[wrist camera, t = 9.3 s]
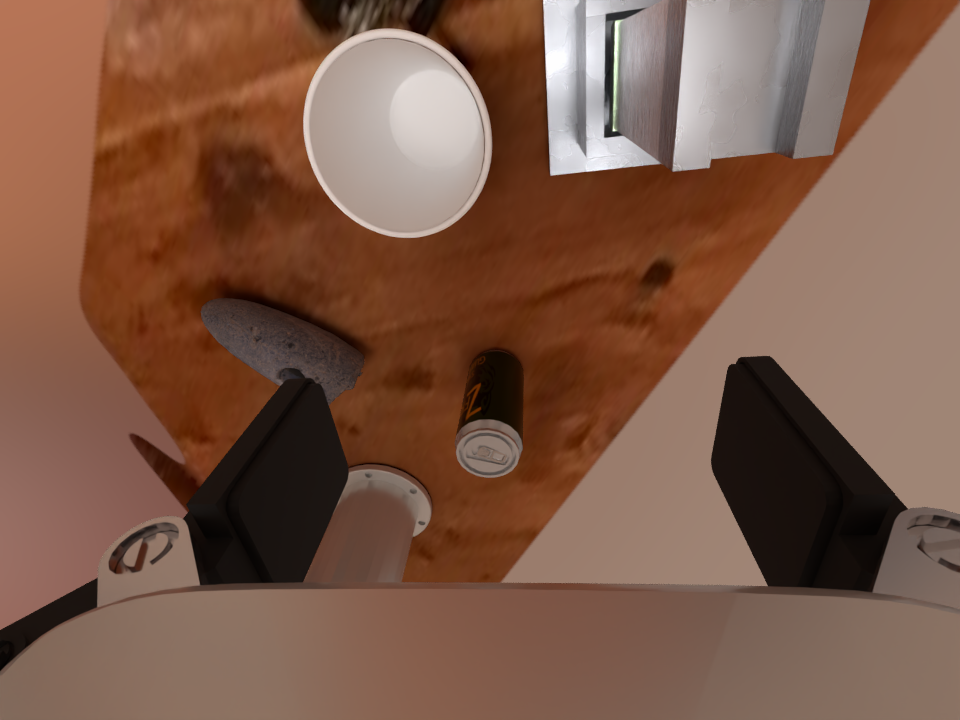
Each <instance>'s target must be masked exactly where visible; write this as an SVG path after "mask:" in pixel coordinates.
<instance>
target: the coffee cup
mask: <svg viewBox="0 0 960 720" xmlns="http://www.w3.org/2000/svg"><path fill="white" fill-rule="evenodd" d="M383 38H393V39H383ZM375 39H377V40H375ZM402 39H403V40H402ZM371 40H373V41H371ZM404 40H406V41H404ZM367 41H369V42H367ZM364 42H365V43H364ZM351 48H352V49H351ZM349 49H350V50H349ZM470 91H471V92H470ZM471 93H472V94H471ZM476 104H477V105H476ZM303 127H304V138H305V145H306V149H307V154H308V157H309V160H310V163H311V166H312V168H313V171H314V173H315V175H316V177H317V179H318V181H319V183H320V184H321V186H322V188H323V189H324V191H325V192H326V194H327V195H328V196H329V197H330V199H331V200H332V201H333V202H334V203H335V204H336V206H337V207H338V208H339V209H340V210H342V211H343V212H344V213H345V214H346V215H347V216H349V217H350V218H351V219H353V220H354V221H355V222H357V223H359V224H360V225H362V226H364V227H366V228H368V229H370V230H372V231H375V232H377V233H380V234H384V235H387V236H392V237H399V238H416V237H423V236H427V235H431V234H434V233H437V232H439V231H441V230H444V229H446V228H447V227H449V226H451V225H452V224H454V223H455V222H456V221H458V220H459V219H460V218H461V217H462V216H463V215H464V214H465V213H466V212H467V211H468V210H469V209H470V208H471V207H472V205H473V204H474V203H475V201H476V200H477V198H478V196H479V195H480V193H481V191H482V189H483V186H484V184H485V182H486V179H487V176H488V172H489V168H490V163H491V156H492V132H491V124H490V119H489V115H488V111H487V108H486V105H485V102H484V99H483V97H482V95H481V92H480V90H479V88H478V86H477V85H476V83H475V81H474V80H473V78H472V76H471V75H470V74H469V72H468V71H467V70H466V68H465V67H464V66H463V65H462V64H461V62H460V61H459V60H458V59H457V58H456V57H455V56H454V55H452V54H451V53H450V52H449V51H448V50H447V49H445V48H444V47H442V46H441V45H439V44H438V43H436V42H435V41H433V40H431V39H429V38H427V37H425V36H423V35H420V34H417V33H414V32H411V31H407V30H402V29H392V28H384V29H375V30H370V31H366V32H363V33H360V34H357V35H355V36H353V37H351V38H349V39H347V40H345V41H344V42H342V43H341V44H340V45H338V46H337V47H336V48H335V49H334V50H333V51H331V52H330V54H329V55H328V56H327V57H326V58H325V59H324V60H323V62H322V63H321V65H320V66H319V68H318V69H317V71H316V73H315V75H314V77H313V79H312V81H311V84H310V87H309V89H308V93H307V97H306V101H305V107H304V119H303ZM474 188H475V189H474ZM473 190H474V191H473ZM468 198H469V199H468ZM448 218H449V219H448ZM445 220H446V221H445ZM435 225H436V226H435Z"/></svg>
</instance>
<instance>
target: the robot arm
mask: <svg viewBox="0 0 960 720" xmlns="http://www.w3.org/2000/svg"><path fill="white" fill-rule="evenodd" d="M711 465H712V470H713V473H714V476H715V478H716V480H717V482H718V484H719V486H720V488H721V490H722V492H723V494H724V496H725V498H726V500H727V502H728V505H729V506H730V509H731V511H732V513H733V515H734V517H735V519H736V521H737V523H738V525H739V527H740V529H741V531H742V533H743V535H744V537H745V540H746V541H747V544H748V546H749V548H750V550H751V552H752V554H753V556H754V558H755V560H756V562H757V564H758V566H759V568H760V570H761V572H762V574H763V576H764V578H765V581H766V583H767V585H768V586H734V585H733V586H732V585H675V584H671V585H670V584H589V583H588V584H587V583H438V582H402V578H403V574H404V570H405V566H406V562H407V557H408V553H409V549H410V545H411V541H412V537H414V536H416V535H418V534H419V533H421V532H422V531H423V530H424V529H425V528H426V527H427V525H428V523H429V521H430V518H431V514H432V503H431V498H430V496H429V494H428V492H427V491H426V489H425V488H424V487H423V486H422V485H421V484H420V483H419V482H418V481H417V480H416V479H415V478H413V477H411V476H410V475H408V474H407V473H405V472H402V471H400V470H398V469H395V468H392V467H388V466H383V465H370V464H366V465H359V466H355V467H352V468H349V469H348V464H347V461H346V458H345V455H344V452H343V449H342V446H341V443H340V440H339V436H338V433H337V430H336V427H335V424H334V421H333V418H332V415H331V411H330V408H329V405H328V402H327V399H326V396H325V393H324V390H323V387H322V386H321V384H319V383H315V381H314V380H313V379H312V378H296V379H287V380H285V381H284V382H283V384H282V385H281V386H280V387H279V389H278V390H277V391H276V392H275V394H274V395H273V396H272V397H271V399H270V400H269V401H268V402H267V404H266V405H265V406H264V407H263V409H262V410H261V411H260V413H259V414H258V415H257V416H256V418H255V419H254V420H253V421H252V423H251V424H250V425H249V426H248V428H247V429H246V430H245V431H244V433H243V434H242V435H241V436H240V438H239V439H238V440H237V441H236V443H235V444H234V445H233V446H232V448H231V449H230V450H229V451H228V453H227V454H226V455H225V456H224V458H223V459H222V460H221V462H220V463H219V464H218V465H217V467H216V468H215V469H214V470H213V472H212V473H211V474H210V475H209V477H208V478H207V479H206V480H205V482H204V483H203V484H202V485H201V487H200V488H199V489H198V490H197V492H196V493H195V494H194V495H193V497H192V498H191V499H190V500H189V502H188V503H187V504H186V505H187V507H188V509H189V510H190V511H189V512H188V513H187V514H186V516H185V517H184V518H183V519H181V518H179V517H175V516H165V517H159V518H155V519H152V520H150V521H147V522H144V523H142V524H140V525H138V526H136V527H134V528H132V529H131V530H129V531H128V532H126V533H125V534H124V535H122V536H121V537H120V538H118V539H117V540H116V541H115V542H114V543H113V544H112V545H111V546H110V547H109V548H108V549H107V550H106V552H105V554H104V555H103V557H102V558H101V560H100V563H99V567H98V578H97V579H95V580H93V581H91V582H89V583H87V584H85V585H84V586H81V587H80V588H78V589H76V590H74V591H72V592H70V593H68V594H67V595H65V596H63V597H61V598H59V599H57V600H55V601H54V602H52V603H50V604H48V605H46V606H44V607H42V608H41V609H39V610H37V611H35V612H33V613H31V614H29V615H28V616H26V617H24V618H22V619H20V620H18V621H16V622H14V623H13V624H11V625H9V626H7V627H5V628H3V629H1V630H0V720H960V514H957V513H953V512H949V511H946V510H942V509H935V508H928V507H922V508H910V509H907V507H906V506H905V505H904V504H903V503H902V502H901V501H900V500H899V499H898V497H897V496H896V495H895V493H894V492H893V491H892V490H891V489H890V488H889V487H888V486H887V485H886V483H885V482H884V481H883V480H882V479H881V478H880V477H879V476H878V475H877V474H876V472H875V471H874V470H873V469H872V468H871V467H870V466H869V465H868V464H867V462H866V461H865V460H864V459H863V458H862V457H861V456H860V455H859V454H858V452H857V451H856V450H855V449H854V448H853V447H852V446H851V445H850V444H849V443H848V441H847V440H846V439H845V438H844V437H843V436H842V435H841V434H840V433H839V431H838V430H837V429H836V428H835V427H834V426H833V425H832V424H831V423H830V422H829V420H828V419H827V418H826V417H825V416H824V415H823V414H822V413H821V411H820V410H819V409H818V408H817V407H816V406H815V405H814V404H813V403H812V401H811V400H810V399H809V398H808V397H807V396H806V395H805V394H804V393H803V391H802V390H801V389H800V388H799V387H798V386H797V385H796V384H795V383H794V382H793V380H791V378H790V377H789V376H788V375H787V374H786V373H785V372H784V370H783V369H782V368H781V367H780V366H779V365H778V364H777V363H776V362H775V360H774V359H773V358H771V357H770V356H757V357H741V358H739V359H738V361H737V362H736V364H731V365H730V366H729V367H728V370H727V375H726V381H725V386H724V392H723V397H722V403H721V408H720V413H719V419H718V424H717V429H716V435H715V441H714V446H713V452H712V458H711ZM332 515H333V516H332ZM331 517H332V518H331ZM330 520H331V521H330ZM329 522H330V523H329ZM328 524H329V525H328ZM327 526H328V528H327ZM326 529H327V530H326ZM325 531H326V532H325ZM324 533H325V534H324ZM323 536H324V537H323ZM322 538H323V539H322ZM321 540H322V541H321ZM320 542H321V544H320ZM319 545H320V546H319ZM318 547H319V548H318ZM317 549H318V550H317ZM316 552H317V553H316ZM315 554H316V555H315ZM314 556H315V557H314ZM313 558H314V559H313ZM312 561H313V562H312ZM311 563H312V564H311ZM310 565H311V566H310ZM309 567H310V569H309ZM308 570H309V571H308ZM307 572H308V573H307ZM306 574H307V575H306ZM305 577H306V578H305ZM304 579H305V580H304ZM303 581H304V582H303Z"/></svg>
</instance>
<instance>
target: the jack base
mask: <svg viewBox="0 0 960 720" xmlns="http://www.w3.org/2000/svg"><path fill="white" fill-rule="evenodd" d="M660 1H662V0H543V23H544V46H545V70H546V94H547V118H548V142H549V166H550V176H551V175H560V174H569V173H579V172H588V171H597V170H606V169H616V168H625V167H634V166H643V165H652V164H662V163H660V162H659V161H657V160H656V159H655V158H653V157H652V156H651V155H649V154H648V153H647V152H645V151H644V150H642V149H641V148H640V147H638V146H637V145H636V144H634V143H633V142H631V141H630V140H629V139H627V138H626V137H625V136H623V135H622V134H620V133H619V132H618V131H612V130H611V126H609V102H610V47H611V26H612V25H613V22H614V21H618V20H624V19H626V18H628V17H630V16H632V15H634V14H636V13H638V12H640V11H642V10H644V9H646V8H648V7H650V6H652V5H654V4H656V3H658V2H660Z"/></svg>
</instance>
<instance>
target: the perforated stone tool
mask: <svg viewBox="0 0 960 720" xmlns="http://www.w3.org/2000/svg"><path fill="white" fill-rule="evenodd" d="M201 316H202V320H203V322H204V324H205V326H206V327H207V329H208V330H209V332H210V333H211V334H212V335H213V337H214V338H215V339H216V340H217V341H218V342H219V343H220V344H221V345H222V346H224V347H225V348H226V349H227V350H228V351H229V352H230V353H232V354H233V355H234V356H236V357H237V358H239V359H240V360H241V361H243V362H244V363H246V364H247V365H249V366H250V367H252V368H253V369H254V370H256V371H257V372H259V373H260V374H262V375H263V376H265V377H266V378H268V379H270V380H271V381H273V382H274V383H276V384H277V385H279V386H281V385H282V384H283V382H284V381H285V380H287V379H296V378H312V379H313V380H314V381H315V383H319V384H321V386H322V387H323V390H324V393H325V396H326V399H327V402H328V405H330V404H331V402H332V401H334V399H335V398H336V397H338V396H339V395H340V394H341V393H342V392H343V391H345V390H350V389H353V388H354V386H355V383H356V380H357V377H358V376H360V375H361V374H362V373H363V372H362V373H361V369H362V368H363V365H364V362H365V361H364V356H363V354H362V353H360V352H359V351H358V350H357V349H355V348H354V347H352V346H350V345H349V344H347V343H346V342H344V341H343V340H341V339H340V338H338V337H337V336H335V335H334V334H332V333H330V332H328V331H325V330H323V329H321V328H319V327H317V326H315V325H313V324H311V323H309V322H306V321H304V320H302V319H299V318H297V317H294V316H292V315H289V314H287V313H284V312H281V311H279V310H276V309H273V308H270V307H267V306H264V305H261V304H258V303H254V302H250V301H246V300H240V299H228V298H220V299H214V300H211V301H208V302H207V303H206V304H205V305H204V306H203V307H202V311H201Z"/></svg>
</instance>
